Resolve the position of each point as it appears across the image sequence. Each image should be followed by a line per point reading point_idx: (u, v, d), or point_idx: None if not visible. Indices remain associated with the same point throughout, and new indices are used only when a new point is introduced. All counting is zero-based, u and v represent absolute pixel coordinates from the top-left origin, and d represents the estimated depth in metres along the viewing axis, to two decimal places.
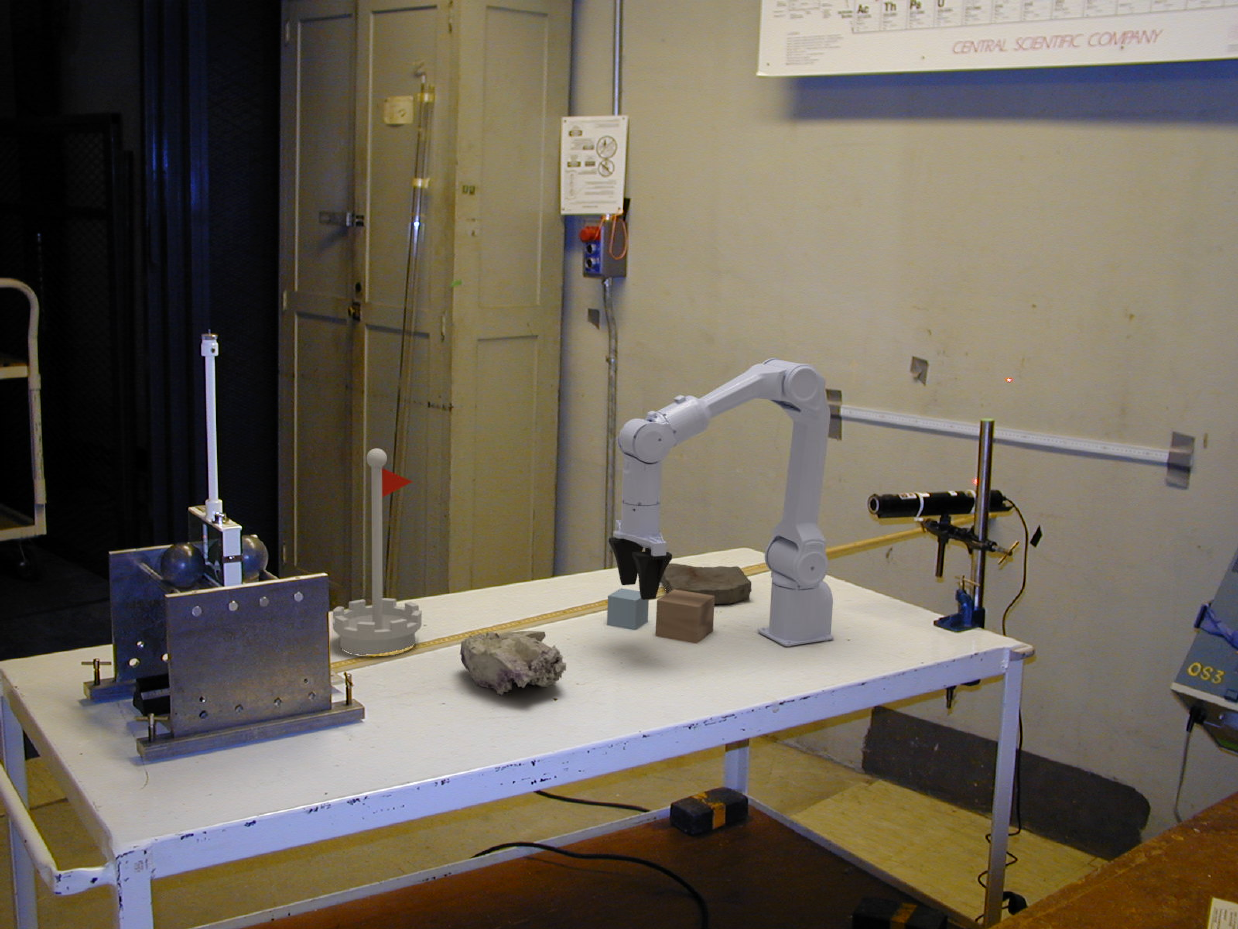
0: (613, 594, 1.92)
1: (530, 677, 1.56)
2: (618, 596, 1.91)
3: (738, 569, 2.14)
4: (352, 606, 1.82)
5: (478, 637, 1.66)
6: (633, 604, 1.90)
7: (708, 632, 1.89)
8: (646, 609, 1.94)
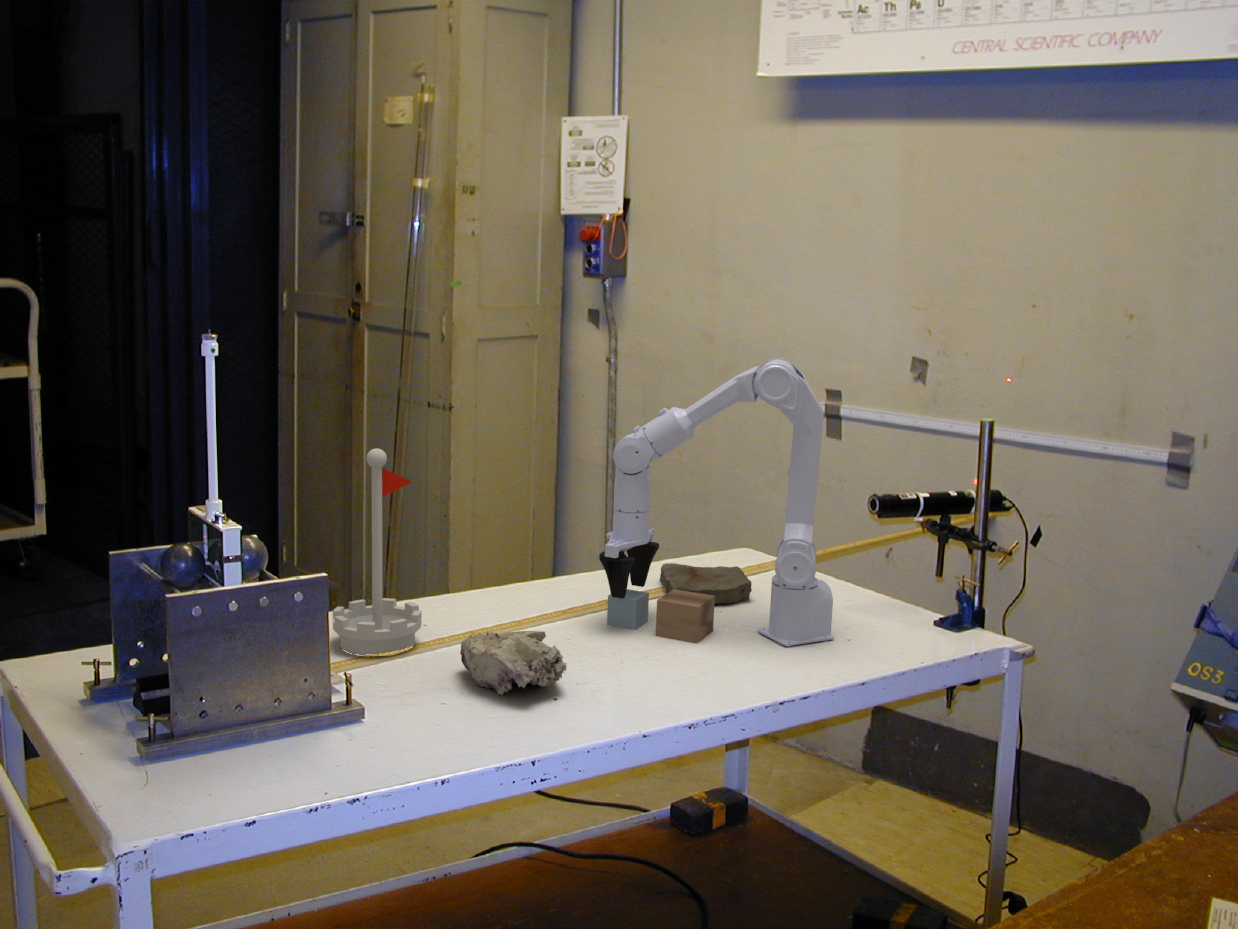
0: None
1: (530, 677, 1.56)
2: None
3: (738, 569, 2.14)
4: (352, 606, 1.82)
5: (478, 637, 1.66)
6: (633, 604, 1.90)
7: (708, 632, 1.89)
8: (646, 609, 1.94)
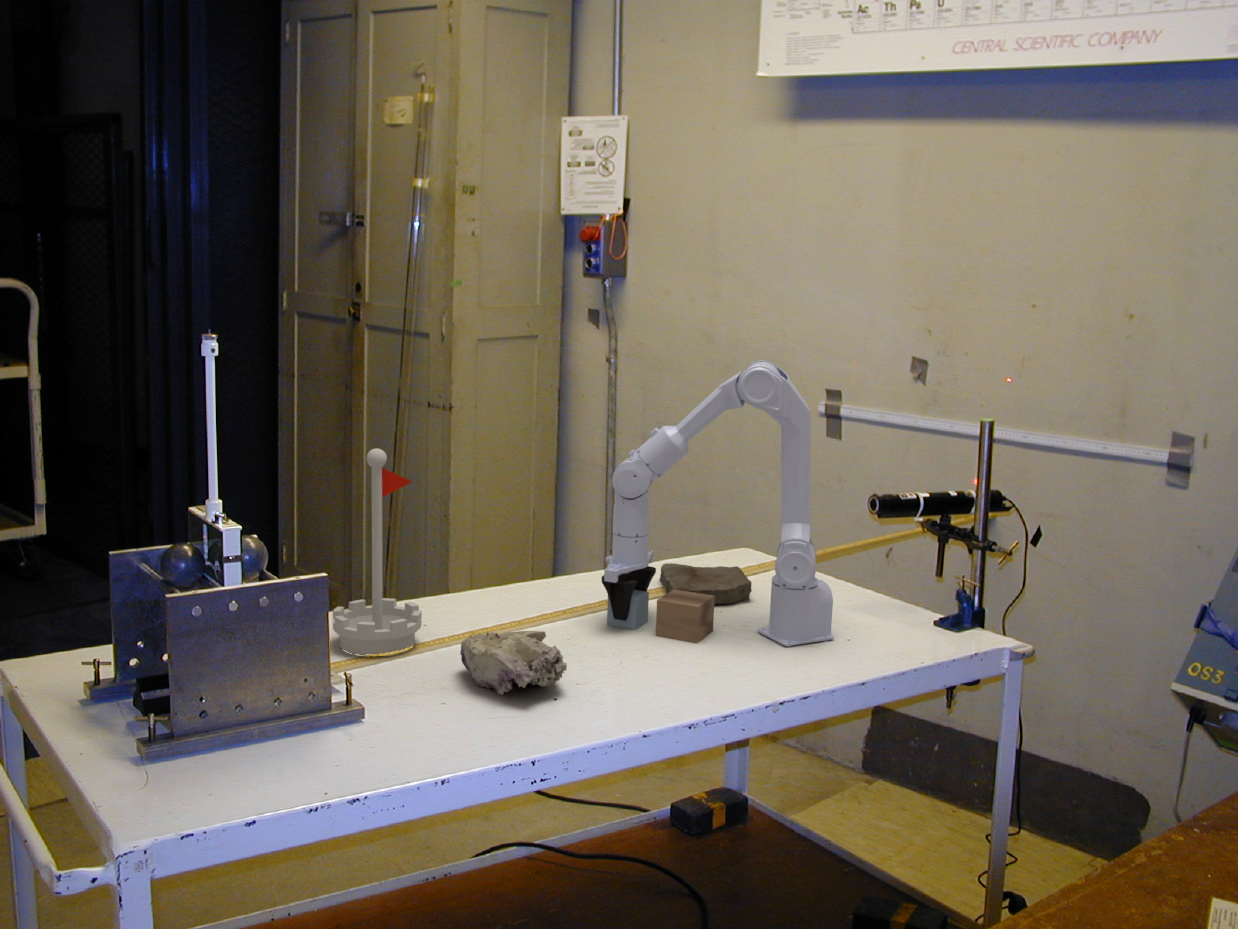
0: None
1: (531, 677, 1.56)
2: None
3: (738, 569, 2.14)
4: (352, 606, 1.82)
5: (478, 637, 1.66)
6: (633, 603, 1.89)
7: (708, 632, 1.89)
8: (646, 608, 1.93)
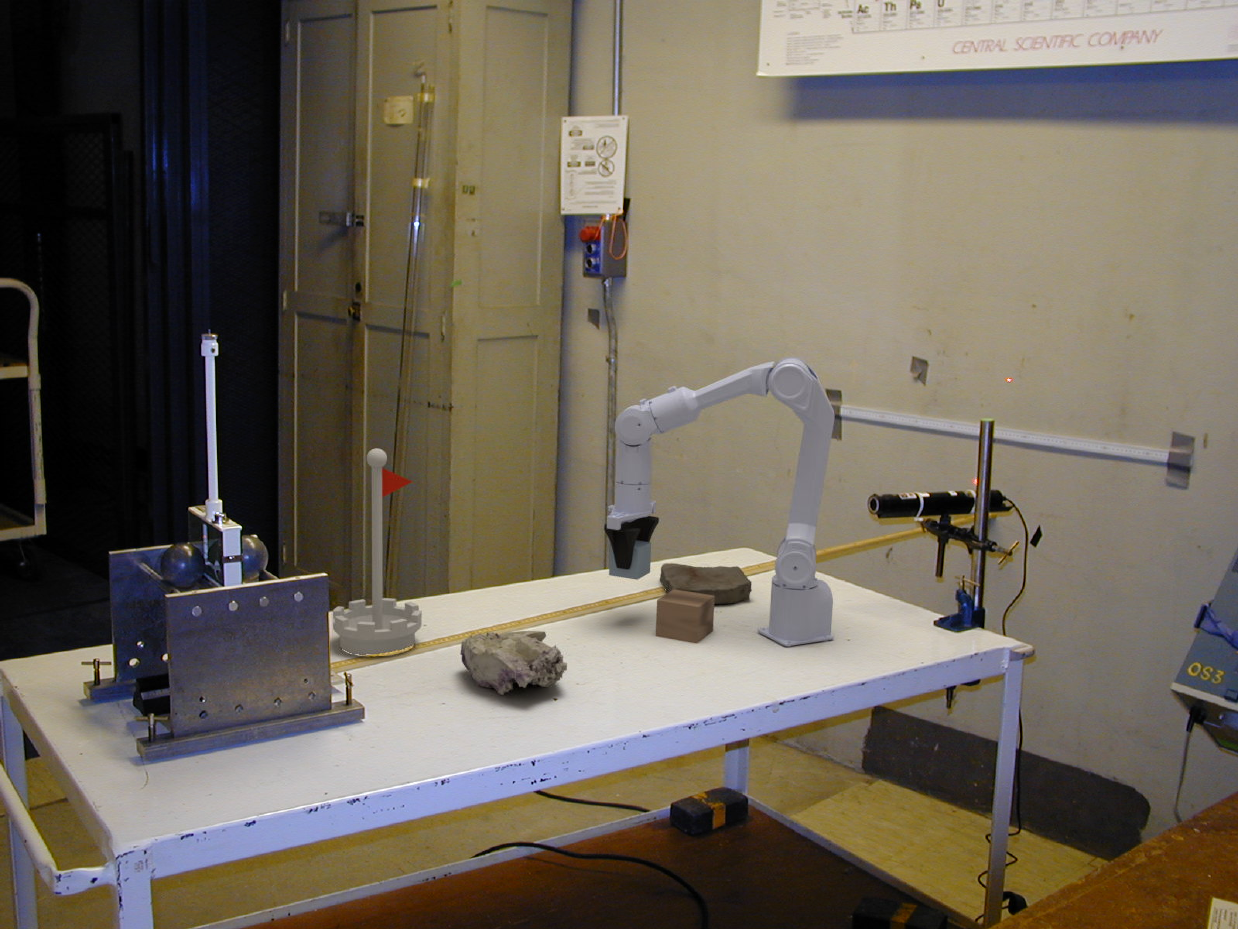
0: None
1: (531, 677, 1.56)
2: None
3: (738, 569, 2.14)
4: (352, 606, 1.82)
5: (478, 637, 1.66)
6: (636, 552, 1.88)
7: (708, 632, 1.89)
8: (648, 559, 1.92)
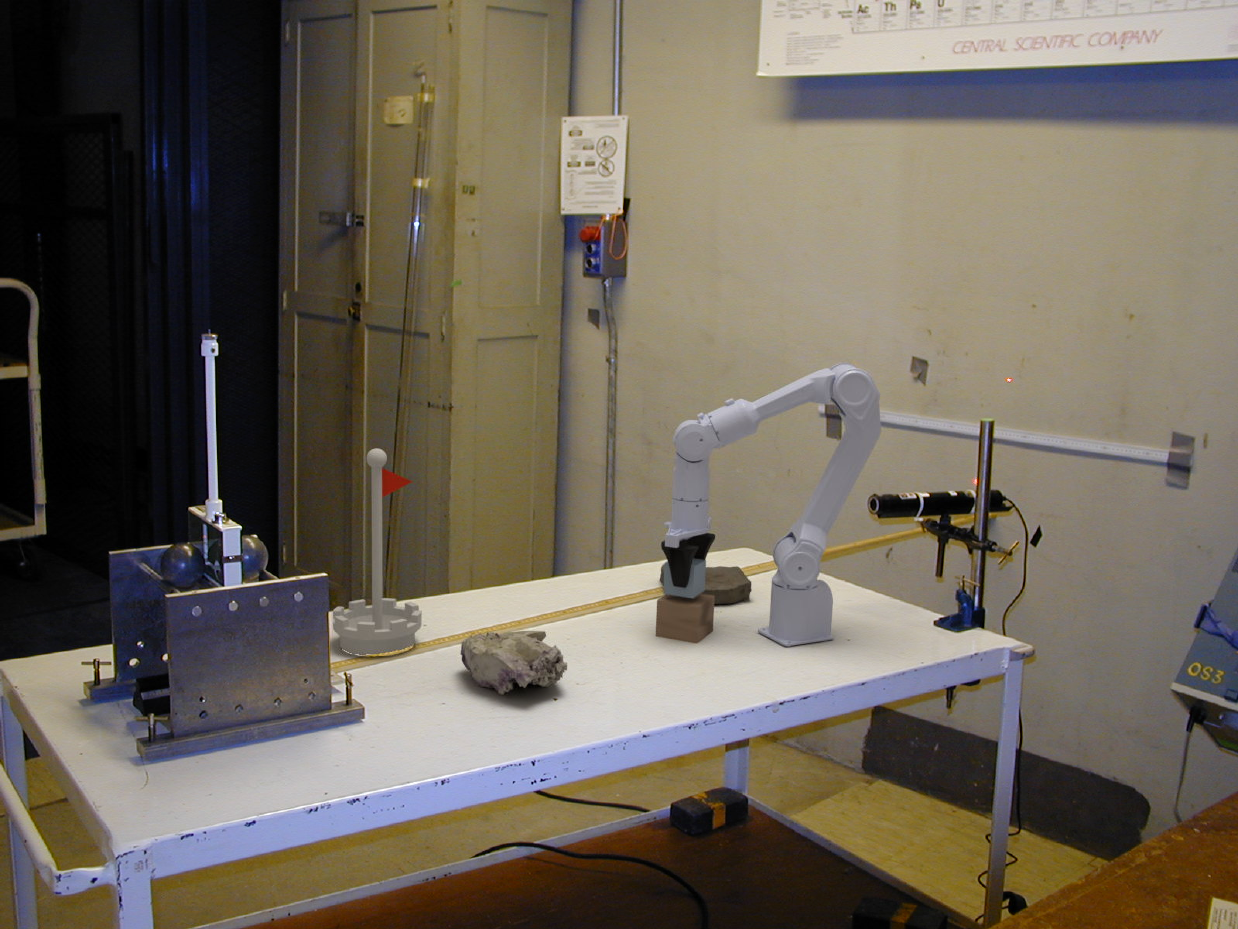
0: None
1: (531, 676, 1.56)
2: None
3: (738, 569, 2.14)
4: (352, 606, 1.82)
5: (479, 637, 1.66)
6: (691, 571, 1.84)
7: (708, 632, 1.89)
8: (703, 577, 1.88)
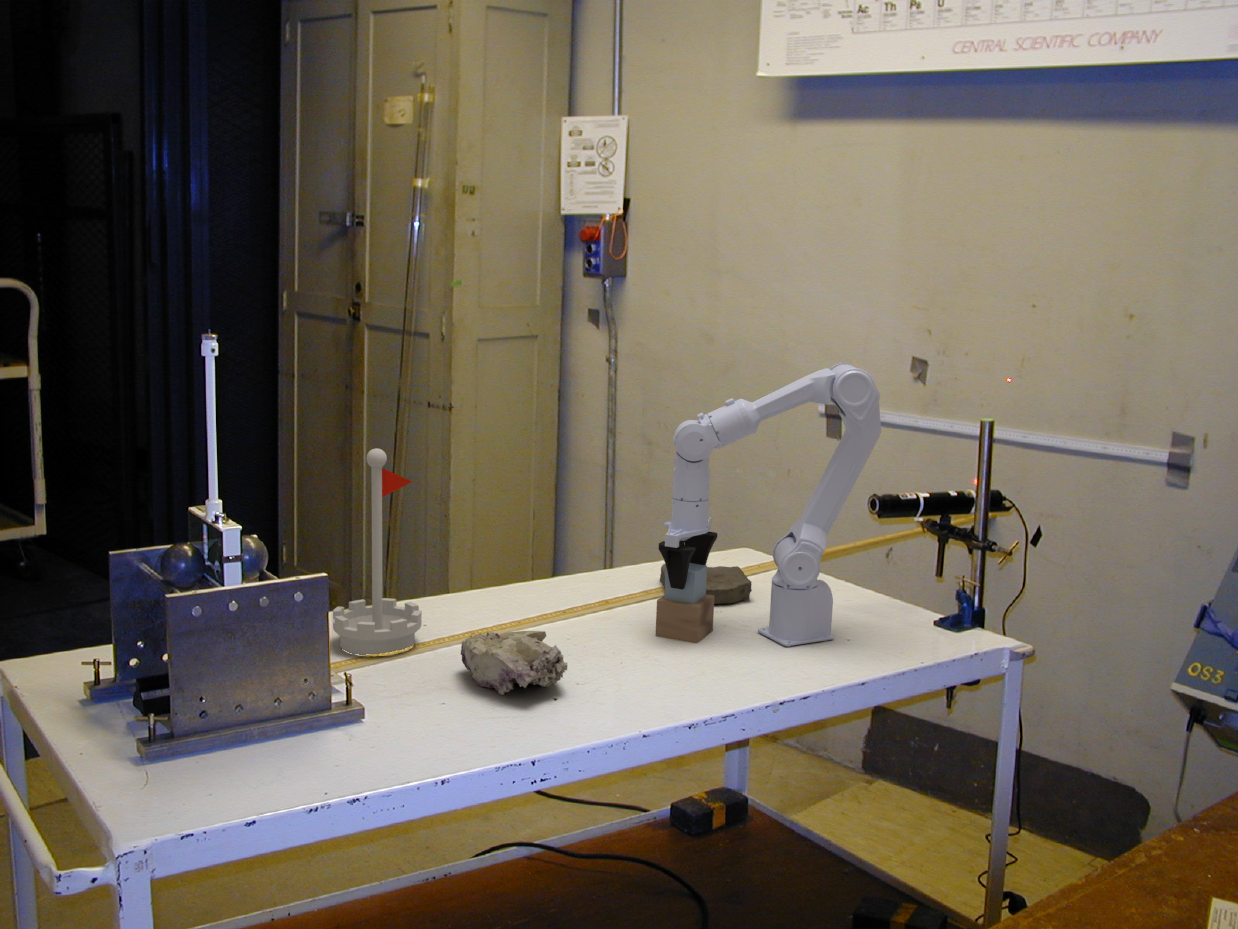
0: None
1: (532, 677, 1.56)
2: None
3: (738, 569, 2.14)
4: (352, 607, 1.82)
5: (479, 637, 1.66)
6: (692, 576, 1.84)
7: (708, 632, 1.89)
8: (704, 582, 1.88)
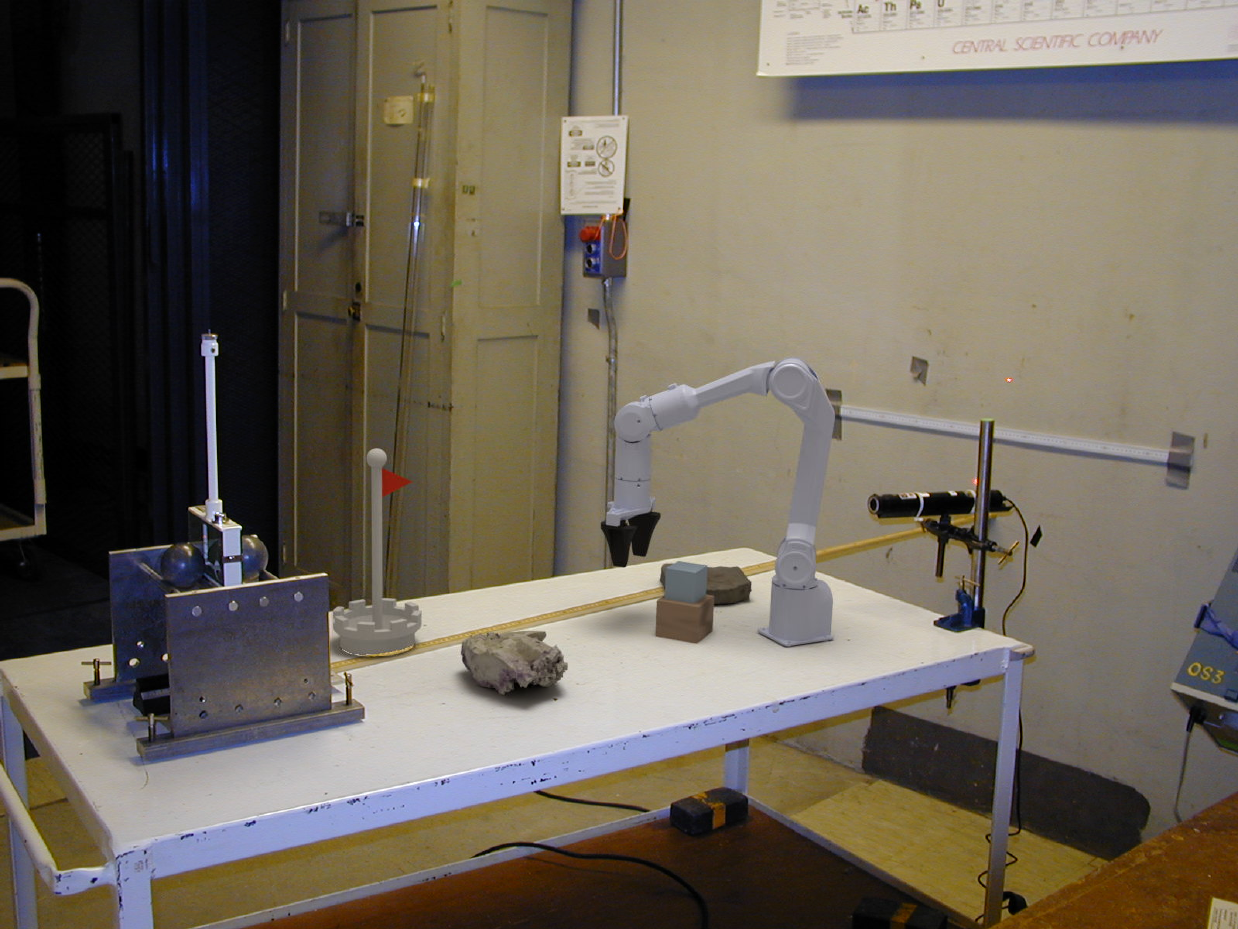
0: (671, 566, 1.87)
1: (532, 676, 1.56)
2: (676, 569, 1.86)
3: (738, 569, 2.14)
4: (352, 607, 1.82)
5: (479, 637, 1.66)
6: (693, 576, 1.85)
7: (708, 632, 1.89)
8: (704, 582, 1.89)
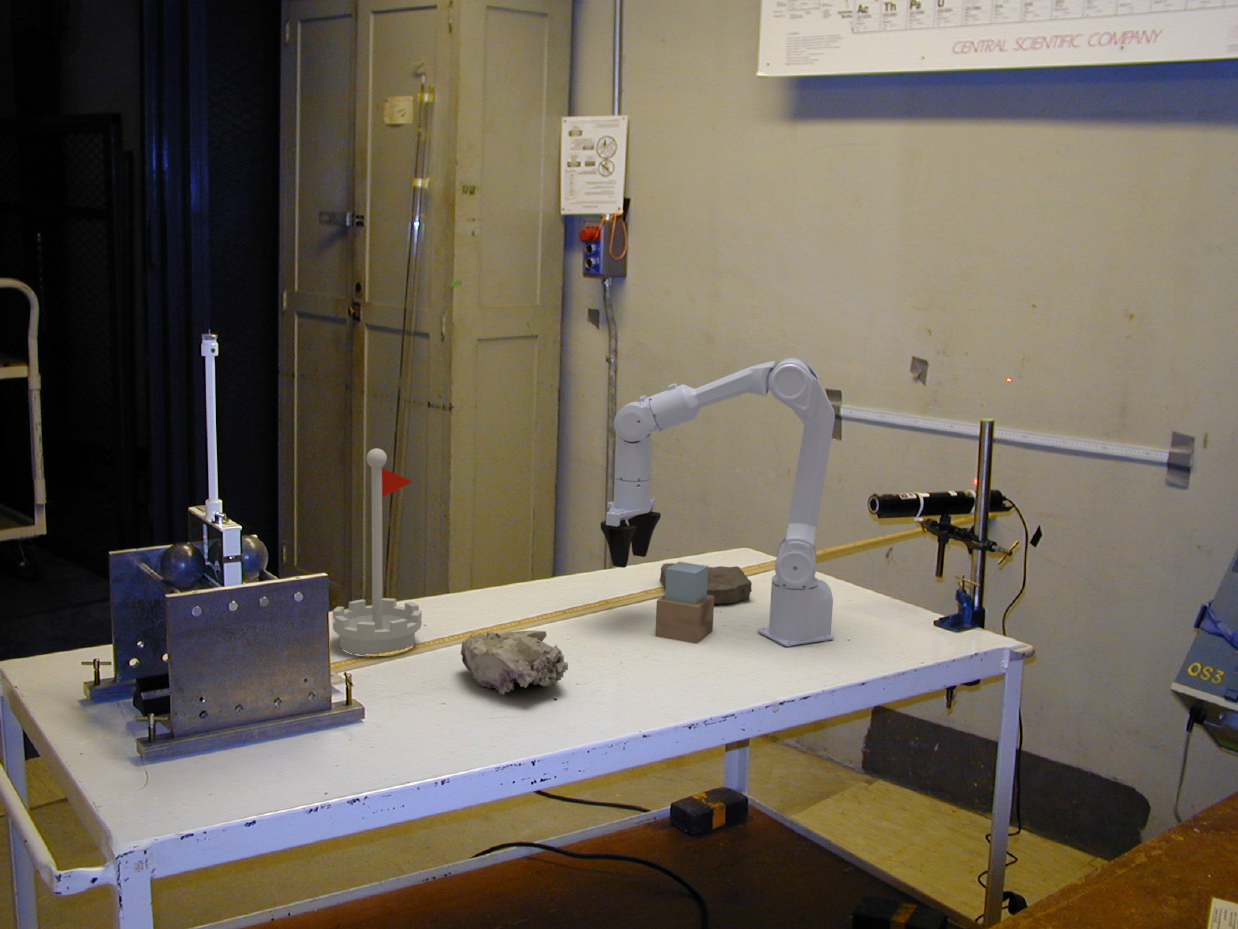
0: (671, 567, 1.87)
1: (532, 676, 1.56)
2: (676, 569, 1.86)
3: (738, 569, 2.14)
4: (352, 606, 1.82)
5: (479, 637, 1.66)
6: (693, 577, 1.84)
7: (708, 632, 1.89)
8: (705, 583, 1.88)
